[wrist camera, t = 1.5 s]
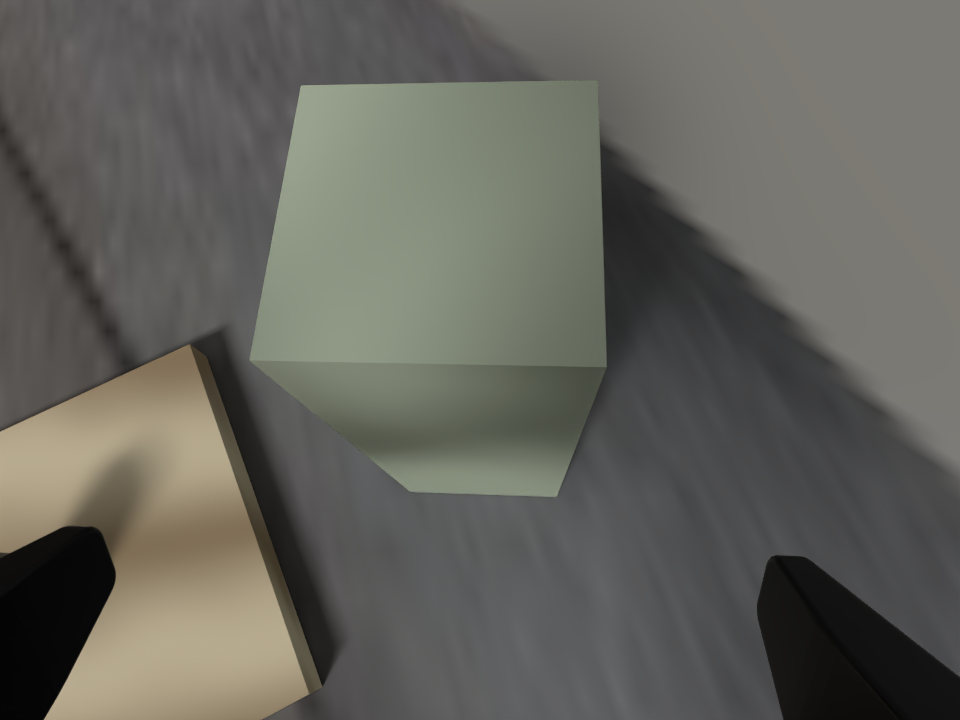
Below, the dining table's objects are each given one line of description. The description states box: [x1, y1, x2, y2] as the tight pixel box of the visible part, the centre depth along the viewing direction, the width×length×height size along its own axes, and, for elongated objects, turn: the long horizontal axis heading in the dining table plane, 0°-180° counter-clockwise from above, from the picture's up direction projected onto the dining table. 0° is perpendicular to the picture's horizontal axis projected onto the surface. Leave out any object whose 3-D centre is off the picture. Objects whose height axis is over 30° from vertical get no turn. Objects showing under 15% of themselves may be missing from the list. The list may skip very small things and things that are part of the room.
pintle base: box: [0, 344, 322, 720], centre depth 17 cm, size 12×12×5 cm
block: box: [249, 80, 607, 497], centre depth 15 cm, size 5×5×12 cm
